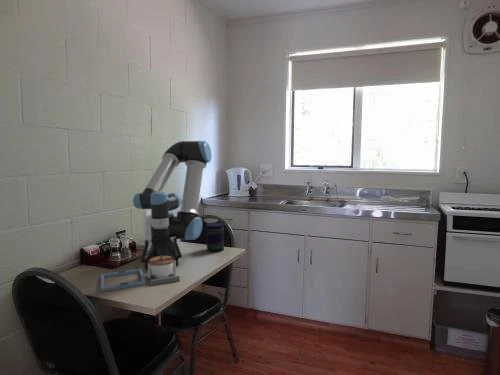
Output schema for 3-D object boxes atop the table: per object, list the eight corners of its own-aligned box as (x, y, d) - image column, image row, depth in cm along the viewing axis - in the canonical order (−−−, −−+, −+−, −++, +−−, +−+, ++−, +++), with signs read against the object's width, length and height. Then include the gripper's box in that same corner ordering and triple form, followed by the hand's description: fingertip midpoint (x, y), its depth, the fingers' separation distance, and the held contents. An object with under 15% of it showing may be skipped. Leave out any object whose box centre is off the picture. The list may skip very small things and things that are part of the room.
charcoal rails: (171, 267, 163) (171, 263, 163) (179, 281, 147) (179, 276, 146) (146, 271, 159) (145, 267, 159) (150, 285, 142) (150, 280, 142)
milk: (145, 249, 195) (143, 204, 192) (143, 244, 206) (141, 202, 203) (166, 247, 200) (165, 203, 197) (163, 242, 210) (162, 200, 208)
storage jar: (208, 247, 198) (207, 222, 197) (225, 247, 198) (224, 222, 196) (205, 252, 188) (204, 226, 187) (223, 252, 188) (222, 226, 186)
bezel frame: (141, 271, 159) (141, 267, 159) (145, 284, 143) (145, 279, 143) (101, 276, 152) (101, 272, 152) (100, 291, 136) (100, 286, 136)
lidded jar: (146, 275, 154) (145, 255, 153) (168, 270, 160) (168, 250, 159) (154, 282, 145) (154, 261, 144) (178, 277, 151) (177, 256, 150)
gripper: (133, 231, 142) (135, 281, 145) (188, 226, 151) (189, 274, 154) (132, 227, 149) (134, 276, 151) (184, 223, 158) (185, 268, 161)
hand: (162, 275), depth 153 cm, fingers closed on lidded jar, 11 cm apart
